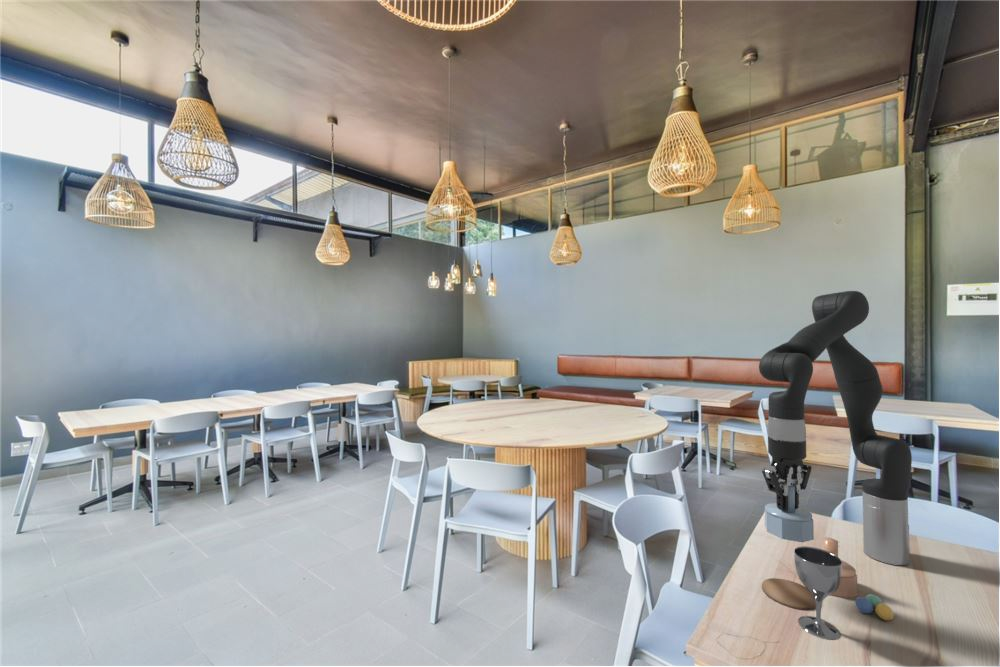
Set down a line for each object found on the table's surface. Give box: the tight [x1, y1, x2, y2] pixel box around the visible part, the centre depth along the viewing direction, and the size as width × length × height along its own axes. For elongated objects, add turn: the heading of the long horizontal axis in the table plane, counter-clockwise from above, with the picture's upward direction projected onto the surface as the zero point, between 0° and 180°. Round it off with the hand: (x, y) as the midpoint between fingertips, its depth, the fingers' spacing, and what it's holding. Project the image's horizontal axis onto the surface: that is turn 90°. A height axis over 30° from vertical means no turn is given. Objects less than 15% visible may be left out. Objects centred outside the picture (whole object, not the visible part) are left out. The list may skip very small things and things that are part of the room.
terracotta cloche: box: [823, 537, 858, 599], centre depth 101 cm, size 9×9×11 cm
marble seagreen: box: [864, 594, 884, 611], centre depth 93 cm, size 3×3×3 cm
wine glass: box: [794, 546, 843, 640], centre depth 87 cm, size 8×8×15 cm
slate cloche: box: [764, 484, 815, 543], centre depth 98 cm, size 9×9×11 cm
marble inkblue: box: [854, 596, 874, 614], centre depth 91 cm, size 3×3×3 cm
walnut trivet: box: [761, 577, 816, 611], centre depth 98 cm, size 11×11×1 cm
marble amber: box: [874, 603, 895, 621], centre depth 89 cm, size 3×3×3 cm
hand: (787, 508), depth 98 cm, fingers closed on slate cloche, 3 cm apart
